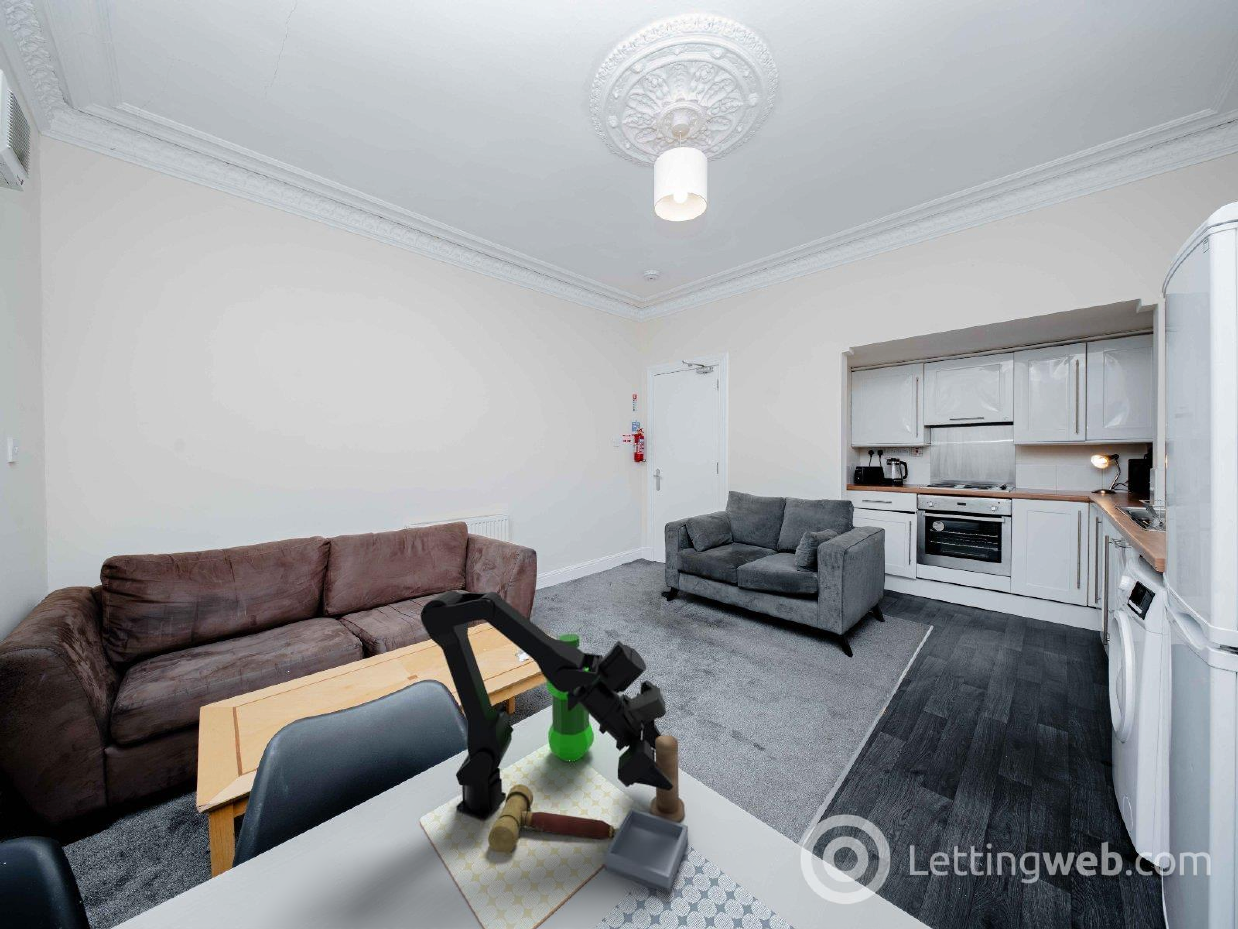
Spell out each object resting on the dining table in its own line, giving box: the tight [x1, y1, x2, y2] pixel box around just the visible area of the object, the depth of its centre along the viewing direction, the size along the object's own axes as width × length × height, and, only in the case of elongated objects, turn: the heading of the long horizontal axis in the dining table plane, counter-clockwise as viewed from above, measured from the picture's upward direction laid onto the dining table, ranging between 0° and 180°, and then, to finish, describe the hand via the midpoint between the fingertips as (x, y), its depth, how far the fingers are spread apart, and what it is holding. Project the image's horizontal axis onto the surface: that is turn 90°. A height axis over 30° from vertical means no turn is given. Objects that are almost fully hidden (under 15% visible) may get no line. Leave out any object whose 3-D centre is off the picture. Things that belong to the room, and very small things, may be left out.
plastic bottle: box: [545, 633, 595, 762], centre depth 100 cm, size 10×10×25 cm
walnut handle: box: [650, 734, 685, 823], centre depth 83 cm, size 6×6×12 cm
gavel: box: [487, 783, 619, 853], centre depth 79 cm, size 21×5×10 cm
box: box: [604, 807, 689, 895], centre depth 74 cm, size 10×10×2 cm
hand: (670, 770), depth 83 cm, fingers open, 9 cm apart
